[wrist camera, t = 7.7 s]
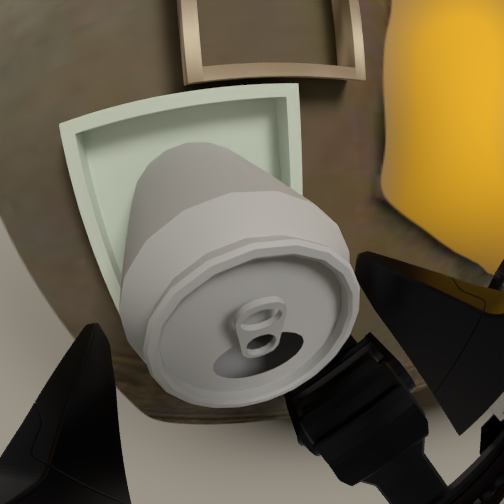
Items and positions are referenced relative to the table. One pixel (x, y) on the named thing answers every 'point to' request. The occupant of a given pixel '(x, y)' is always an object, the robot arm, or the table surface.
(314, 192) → the table surface
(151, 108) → the tray
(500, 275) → the beer stein
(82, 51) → the table surface
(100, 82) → the table surface
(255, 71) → the holder
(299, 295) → the can
